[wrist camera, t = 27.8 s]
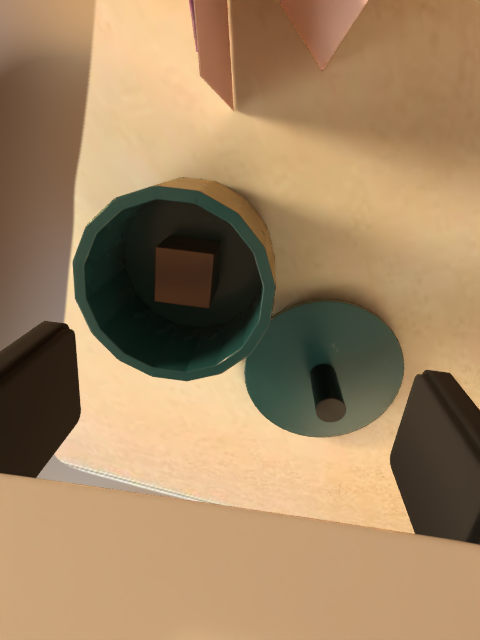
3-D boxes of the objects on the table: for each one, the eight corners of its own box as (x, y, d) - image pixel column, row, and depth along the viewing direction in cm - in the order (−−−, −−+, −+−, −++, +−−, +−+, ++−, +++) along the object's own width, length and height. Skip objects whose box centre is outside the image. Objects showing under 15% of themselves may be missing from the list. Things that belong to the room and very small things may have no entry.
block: (216, 290, 35) (209, 309, 30) (167, 284, 35) (154, 301, 31) (221, 241, 33) (214, 253, 29) (169, 234, 33) (155, 246, 29)
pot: (262, 340, 37) (260, 391, 29) (119, 321, 37) (79, 367, 29) (284, 188, 31) (289, 201, 23) (116, 168, 32) (66, 174, 24)
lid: (378, 438, 40) (397, 490, 34) (237, 419, 41) (231, 467, 34) (419, 307, 34) (452, 341, 28) (254, 286, 35) (251, 316, 29)
